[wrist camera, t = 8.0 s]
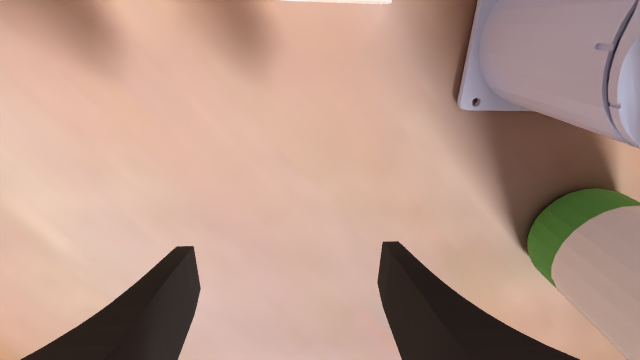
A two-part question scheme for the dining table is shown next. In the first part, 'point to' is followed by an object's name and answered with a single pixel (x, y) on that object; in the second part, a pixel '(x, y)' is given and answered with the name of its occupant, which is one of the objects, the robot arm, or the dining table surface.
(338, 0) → the gear board
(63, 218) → the dining table surface
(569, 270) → the wine bottle
